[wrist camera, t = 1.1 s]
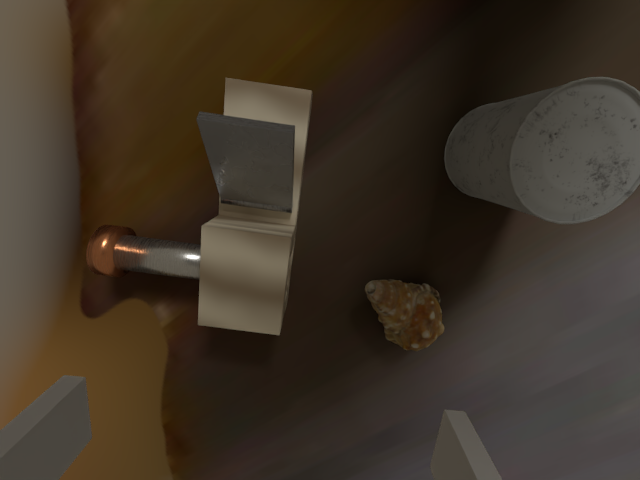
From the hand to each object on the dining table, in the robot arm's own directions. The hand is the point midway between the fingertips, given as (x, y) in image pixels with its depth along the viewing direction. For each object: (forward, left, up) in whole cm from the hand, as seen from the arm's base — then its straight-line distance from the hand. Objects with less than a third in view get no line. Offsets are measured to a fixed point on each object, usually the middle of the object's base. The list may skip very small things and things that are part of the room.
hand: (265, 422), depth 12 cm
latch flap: (-8, -5, -19) cm, 21 cm away
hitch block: (-3, -5, -25) cm, 26 cm away
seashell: (+6, +12, -25) cm, 29 cm away
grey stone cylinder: (-12, +18, -25) cm, 33 cm away
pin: (+3, -13, -24) cm, 28 cm away
